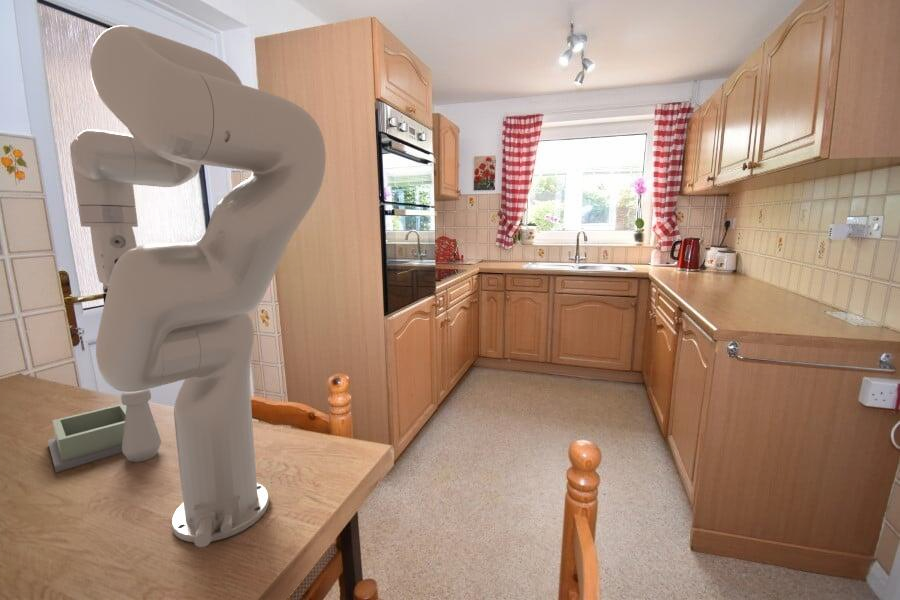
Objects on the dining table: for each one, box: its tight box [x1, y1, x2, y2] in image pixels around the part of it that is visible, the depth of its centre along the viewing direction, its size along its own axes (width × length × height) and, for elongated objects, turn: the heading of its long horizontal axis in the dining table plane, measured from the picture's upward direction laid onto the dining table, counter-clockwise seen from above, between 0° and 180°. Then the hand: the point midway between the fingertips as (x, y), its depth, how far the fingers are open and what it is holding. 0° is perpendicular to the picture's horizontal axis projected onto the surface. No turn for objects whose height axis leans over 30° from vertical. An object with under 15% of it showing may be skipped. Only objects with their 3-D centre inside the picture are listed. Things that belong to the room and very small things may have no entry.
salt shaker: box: [120, 389, 162, 463], centre depth 76 cm, size 6×6×13 cm
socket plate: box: [47, 403, 127, 473], centre depth 80 cm, size 13×13×5 cm
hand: (122, 317), depth 73 cm, fingers open, 9 cm apart
